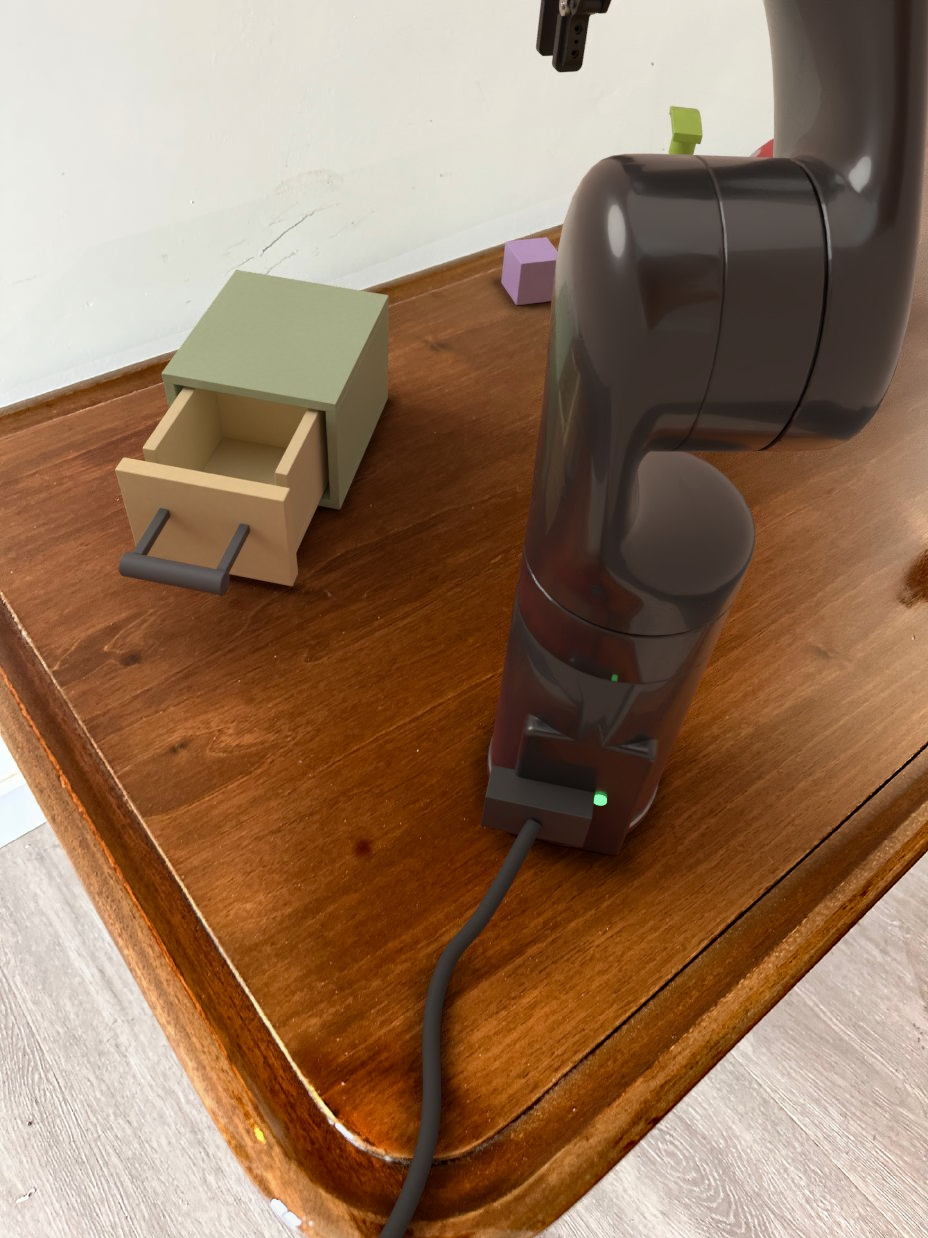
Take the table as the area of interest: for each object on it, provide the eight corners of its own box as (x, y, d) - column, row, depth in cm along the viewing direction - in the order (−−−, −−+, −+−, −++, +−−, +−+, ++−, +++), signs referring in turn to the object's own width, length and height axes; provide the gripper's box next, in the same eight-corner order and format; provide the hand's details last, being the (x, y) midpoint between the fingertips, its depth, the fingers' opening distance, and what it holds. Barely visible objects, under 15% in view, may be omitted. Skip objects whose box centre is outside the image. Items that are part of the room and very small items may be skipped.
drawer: (264, 650, 56) (252, 565, 51) (101, 617, 57) (71, 530, 51) (347, 463, 68) (344, 378, 62) (210, 438, 68) (195, 352, 63)
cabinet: (340, 510, 66) (335, 404, 59) (183, 480, 67) (161, 373, 60) (388, 398, 74) (388, 294, 68) (248, 373, 75) (235, 269, 69)
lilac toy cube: (557, 300, 86) (563, 258, 83) (516, 305, 85) (521, 263, 82) (541, 277, 88) (546, 236, 85) (500, 282, 87) (505, 241, 84)
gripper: (502, -264, 62) (481, 31, 75) (587, -223, 54) (546, 101, 67) (605, -260, 64) (567, 27, 77) (703, -220, 56) (642, 95, 69)
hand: (558, 60), depth 72 cm, fingers closed
